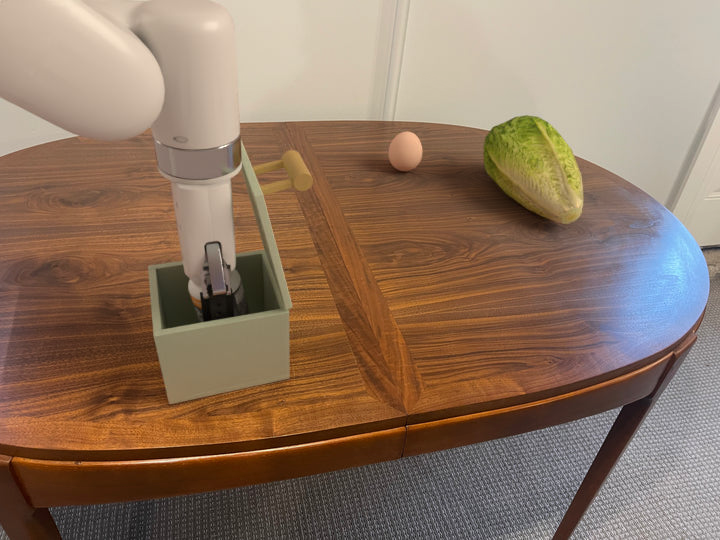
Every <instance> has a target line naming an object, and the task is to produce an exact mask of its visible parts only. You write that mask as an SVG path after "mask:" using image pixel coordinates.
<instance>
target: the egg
mask: <svg viewBox="0 0 720 540" xmlns="http://www.w3.org/2000/svg"><path fill="white" fill-rule="evenodd" d="M423 152H424V151H423V146H422V142H421V140H420V138H419V137H418V135H416V134H415V133H414V132H411V131H401V132H400V133H398V134H397V135H396V136H395V137H394V138H393V139H392V141H391V142H390V143H389V147H388V153H387V154H388V160H389V162H390V164H391V166H392V167H393V168H394V169H396V170H397V171H400V172H410V171H413V170H414V169H416V167H418V166H419V164H420V163H421V161H422V158H423Z"/></svg>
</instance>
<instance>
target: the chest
mask: <svg viewBox="0 0 720 540" xmlns="http://www.w3.org/2000/svg"><path fill="white" fill-rule="evenodd" d="M235 269H236V271H237V272H238V273H239V275H240V277H241V282H242V286H243V289H244V293H245V297H246V300H247V304H248V308H249V311H250V314H248V315H242V316H236V317H231V318H225V319H219V320H213V321H208V322H202V323H200V322H199V319H198V316H197V314H196V311H195V308H194V305H193V302H192V299H191V296H190V294H189V290H188V284H189V280H190V279H189V277H188V276H187V275H186V274H185V272H184V267H183V261H182V260H178V261H172V262H171V261H170V262H163V263H158V264H157V263H156V264H149V265H147V271H148V282H149V295H150V297H149V298H150V309H151V321H152V322H151V323H152V334H153V340H154V343H155V344H154V345H155V348H156V353H157V357H158V362H159V366H160V370H161V375H162V379H163V380H162V381H163V385H164V388H165V393H166V397H167V401H168V404H169V405H174V404H180V403H184V402H188V401H193V400H197V399H202V398H206V397H211V396H217V395H220V394H225V393H230V392H234V391H239V390H243V389H248V388H254V387H257V386H262V385H266V384H267V385H268V384H271V383H275V382H281V381H286V380H290V379H291V378H290V376H291V375H290V372H291V371H290V369H291V368H290V367H291V366H290V364H291V363H290V361H291V360H290V309H287V310H286V309H285V307H284V304H283V301H282V298H281V295H280V292H279V289H278V287H277V284H276V281H275V278H274V275H273V272H272V270H271V267H270V264H269V261H268V258H267V255H266V253H265V250H264V249H258V250H251V251H244V252H236V267H235Z"/></svg>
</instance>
